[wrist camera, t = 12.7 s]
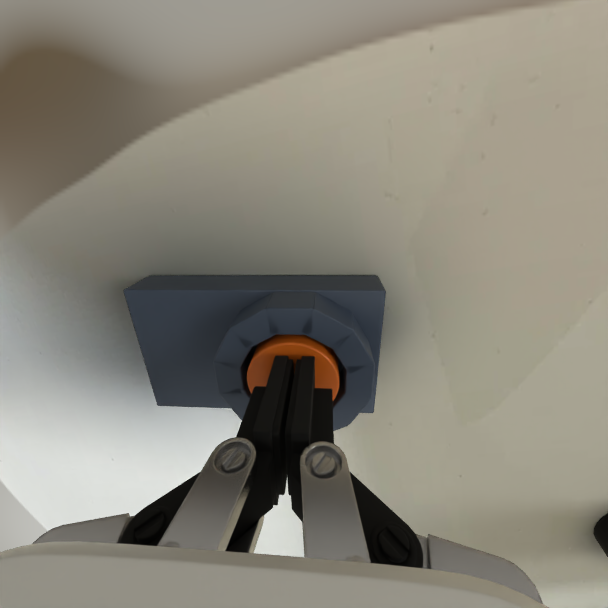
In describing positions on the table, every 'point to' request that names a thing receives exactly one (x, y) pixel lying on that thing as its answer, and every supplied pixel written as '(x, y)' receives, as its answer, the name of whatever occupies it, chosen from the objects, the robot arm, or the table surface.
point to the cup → (602, 533)
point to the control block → (254, 333)
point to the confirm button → (294, 360)
